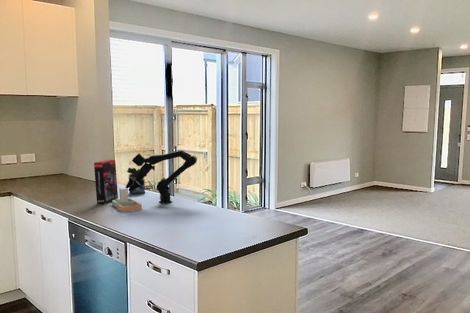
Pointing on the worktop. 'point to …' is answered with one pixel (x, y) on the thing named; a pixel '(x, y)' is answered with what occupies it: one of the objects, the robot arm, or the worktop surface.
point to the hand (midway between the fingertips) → (127, 189)
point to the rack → (127, 205)
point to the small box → (138, 189)
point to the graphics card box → (105, 181)
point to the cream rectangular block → (123, 194)
